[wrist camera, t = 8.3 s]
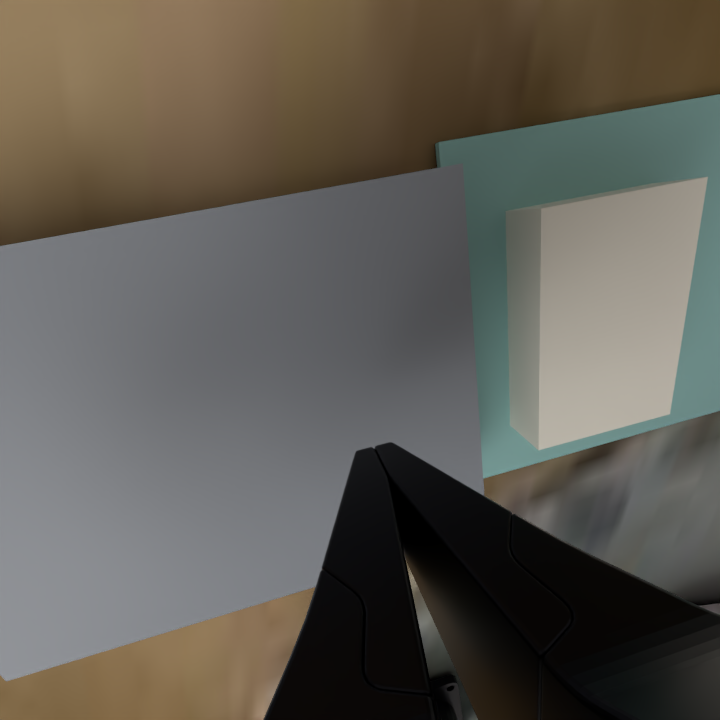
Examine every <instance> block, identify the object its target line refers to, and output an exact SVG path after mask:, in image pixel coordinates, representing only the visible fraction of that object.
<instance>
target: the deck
mask: <svg viewBox="0 0 720 720" xmlns="http://www.w3.org/2000/svg"><path fill="white" fill-rule="evenodd" d="M388 442H393V443H395V444H396V445H398V446H400V447H402V448H403V449H405V450H407V451H408V452H410V453H412V454H413V455H415V456H417V457H419V458H420V459H422V460H424V461H425V462H427V463H429V464H431V465H432V466H434V467H436V468H437V469H439V470H441V471H443V472H444V473H446V474H448V475H449V476H451V477H453V478H454V479H456V480H458V481H460V482H461V483H463V484H465V485H466V486H468V487H470V488H472V489H473V490H475V491H477V492H478V493H480V494H482V495H484V483H483V468H482V452H481V437H480V421H479V406H478V390H477V375H476V360H475V344H474V329H473V313H472V298H471V282H470V267H469V252H468V236H467V221H466V205H465V190H464V174H463V163H462V164H456V165H451V166H445V167H440V168H434V169H428V170H423V171H417V172H412V173H406V174H400V175H395V176H389V177H384V178H378V179H373V180H367V181H361V182H356V183H350V184H345V185H339V186H333V187H328V188H322V189H317V190H311V191H306V192H300V193H294V194H289V195H283V196H278V197H272V198H266V199H261V200H255V201H250V202H244V203H238V204H233V205H227V206H222V207H216V208H211V209H205V210H199V211H194V212H188V213H183V214H177V215H171V216H166V217H160V218H155V219H149V220H144V221H138V222H132V223H127V224H121V225H116V226H110V227H104V228H99V229H93V230H88V231H82V232H76V233H71V234H65V235H60V236H54V237H49V238H43V239H37V240H32V241H26V242H21V243H15V244H9V245H4V246H0V675H1V676H2V677H3V678H4V680H5V681H9V680H12V679H15V678H19V677H22V676H25V675H29V674H32V673H35V672H38V671H42V670H45V669H48V668H51V667H55V666H58V665H61V664H65V663H68V662H71V661H74V660H78V659H81V658H84V657H87V656H91V655H94V654H97V653H100V652H104V651H107V650H110V649H114V648H117V647H120V646H123V645H127V644H130V643H133V642H136V641H140V640H143V639H146V638H149V637H153V636H156V635H159V634H163V633H166V632H169V631H172V630H176V629H179V628H182V627H185V626H189V625H192V624H195V623H198V622H202V621H205V620H208V619H212V618H215V617H218V616H221V615H225V614H228V613H231V612H234V611H238V610H241V609H244V608H248V607H251V606H254V605H257V604H261V603H264V602H267V601H270V600H274V599H277V598H280V597H283V596H287V595H290V594H293V593H297V592H300V591H303V590H306V589H310V588H313V587H316V584H317V580H318V577H319V574H320V571H321V570H322V564H323V561H324V557H325V554H326V550H327V547H328V543H329V540H330V537H331V533H332V530H333V526H334V523H335V519H336V516H337V513H338V509H339V506H340V502H341V499H342V495H343V492H344V489H345V485H346V482H347V478H348V475H349V471H350V468H351V465H352V461H353V458H354V454H355V452H356V451H357V450H361V449H365V448H369V447H373V448H375V446H377V445H380V444H384V443H388Z"/></svg>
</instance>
